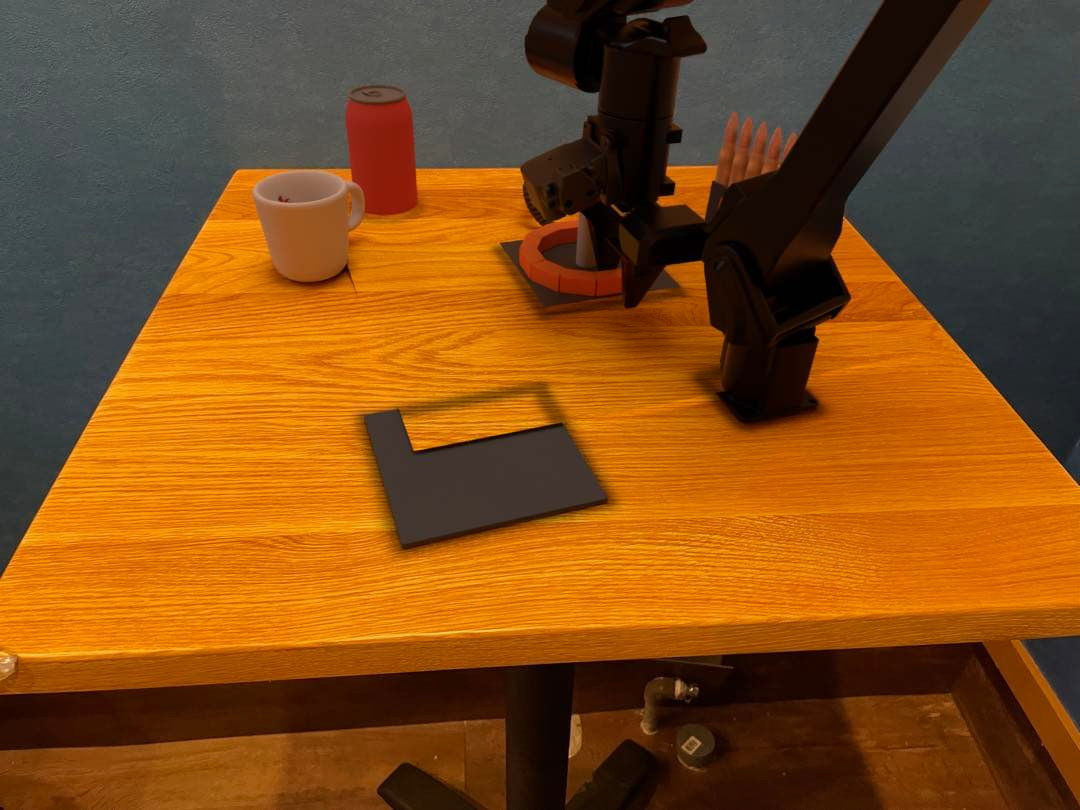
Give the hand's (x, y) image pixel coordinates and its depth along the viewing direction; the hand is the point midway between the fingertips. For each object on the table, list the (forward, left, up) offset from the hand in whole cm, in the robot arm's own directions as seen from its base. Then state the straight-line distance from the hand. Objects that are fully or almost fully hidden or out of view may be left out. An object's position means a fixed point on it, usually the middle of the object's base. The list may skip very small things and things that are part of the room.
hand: (617, 293), depth 70 cm
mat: (-16, +17, -1) cm, 23 cm away
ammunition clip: (+8, -18, -2) cm, 20 cm away
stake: (+7, 0, -1) cm, 7 cm away
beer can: (+26, +15, -2) cm, 30 cm away
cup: (+15, +23, -2) cm, 27 cm away
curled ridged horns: (+19, -3, -2) cm, 19 cm away
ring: (+7, 0, 0) cm, 7 cm away
